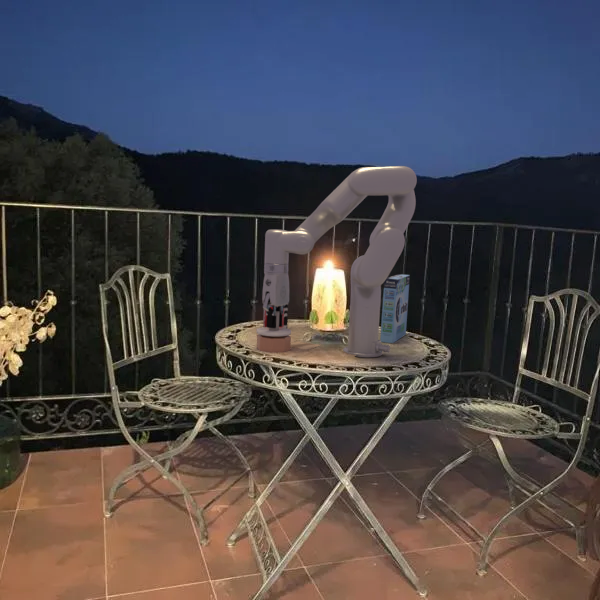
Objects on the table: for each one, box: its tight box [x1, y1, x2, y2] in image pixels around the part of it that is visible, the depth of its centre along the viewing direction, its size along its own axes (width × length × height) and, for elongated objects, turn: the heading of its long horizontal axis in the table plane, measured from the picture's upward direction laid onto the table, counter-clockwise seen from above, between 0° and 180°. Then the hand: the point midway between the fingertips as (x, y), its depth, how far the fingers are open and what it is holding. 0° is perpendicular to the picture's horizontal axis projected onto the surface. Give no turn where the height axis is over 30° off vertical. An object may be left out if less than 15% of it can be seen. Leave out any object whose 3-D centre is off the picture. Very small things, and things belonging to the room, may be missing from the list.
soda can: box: [262, 304, 284, 328], centre depth 218 cm, size 7×7×13 cm
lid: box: [255, 311, 292, 336], centre depth 200 cm, size 11×11×7 cm
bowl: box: [256, 334, 292, 353], centre depth 201 cm, size 10×10×5 cm
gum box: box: [379, 273, 411, 344], centre depth 229 cm, size 20×5×23 cm, turn 157°
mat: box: [290, 341, 322, 351], centre depth 208 cm, size 10×10×1 cm
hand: (274, 326), depth 200 cm, fingers closed on lid, 3 cm apart
